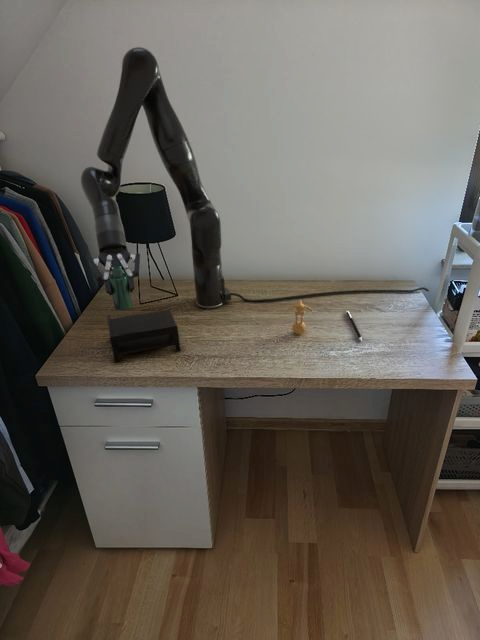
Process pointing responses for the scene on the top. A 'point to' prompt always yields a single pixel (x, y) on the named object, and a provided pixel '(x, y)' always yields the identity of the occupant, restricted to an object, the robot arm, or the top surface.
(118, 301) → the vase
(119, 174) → the robot arm
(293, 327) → the figurine
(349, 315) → the pen
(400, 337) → the top surface
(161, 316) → the black rectangular case
